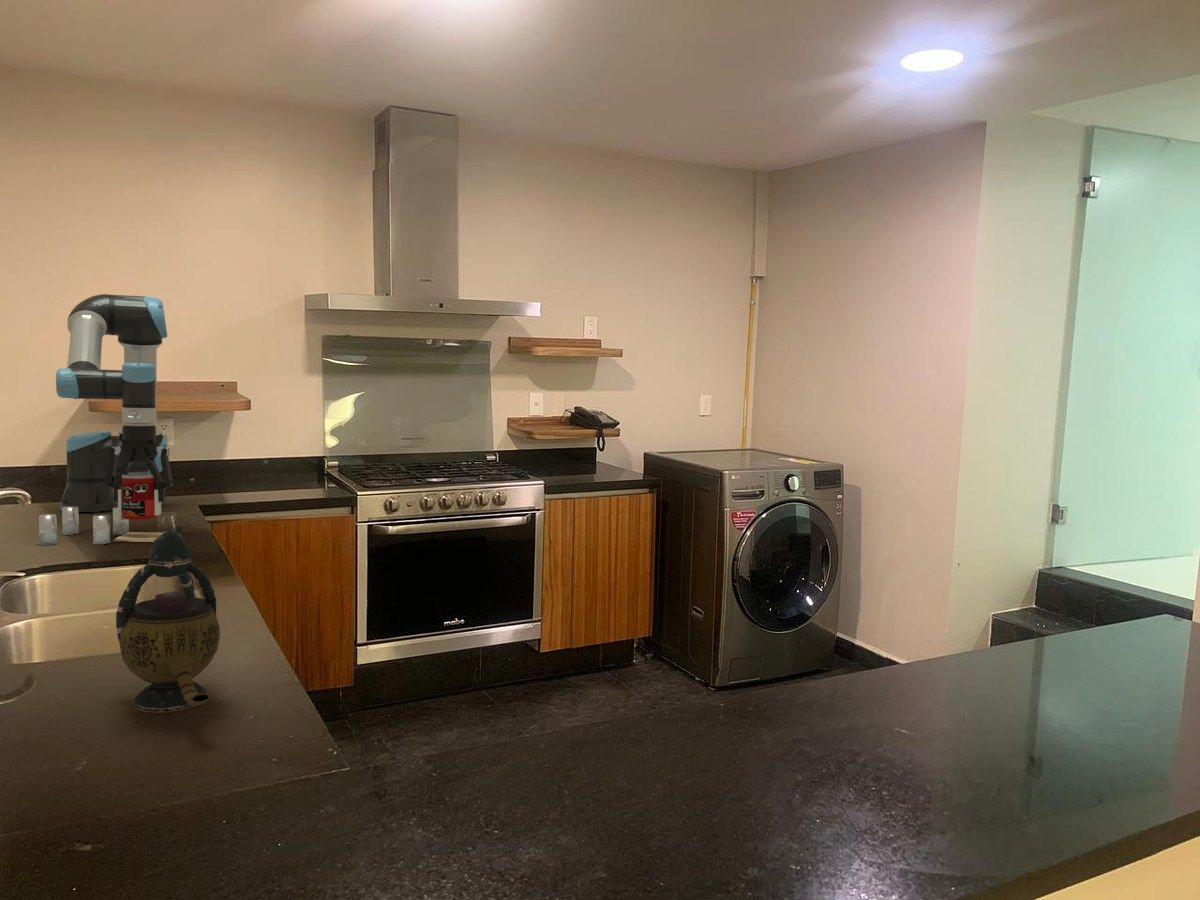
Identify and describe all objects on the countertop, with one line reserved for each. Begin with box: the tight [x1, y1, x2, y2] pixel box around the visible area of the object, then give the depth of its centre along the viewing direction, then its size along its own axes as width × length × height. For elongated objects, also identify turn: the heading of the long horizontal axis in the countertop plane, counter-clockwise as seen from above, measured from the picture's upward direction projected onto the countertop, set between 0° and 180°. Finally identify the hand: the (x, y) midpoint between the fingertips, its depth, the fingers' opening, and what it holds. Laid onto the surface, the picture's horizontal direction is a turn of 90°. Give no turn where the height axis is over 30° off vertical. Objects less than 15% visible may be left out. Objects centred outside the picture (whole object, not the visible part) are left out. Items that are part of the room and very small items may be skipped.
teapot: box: [115, 526, 221, 713], centre depth 115 cm, size 12×25×23 cm, turn 37°
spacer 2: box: [61, 506, 80, 536], centre depth 228 cm, size 4×4×7 cm
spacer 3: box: [92, 514, 111, 544], centre depth 217 cm, size 4×4×7 cm
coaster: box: [113, 531, 165, 543], centre depth 225 cm, size 10×9×1 cm
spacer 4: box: [112, 507, 130, 535], centre depth 230 cm, size 4×4×7 cm
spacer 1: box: [38, 513, 58, 546], centre depth 215 cm, size 4×4×7 cm
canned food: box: [121, 473, 157, 521], centre depth 224 cm, size 8×8×11 cm
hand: (139, 514), depth 225 cm, fingers closed on canned food, 8 cm apart
